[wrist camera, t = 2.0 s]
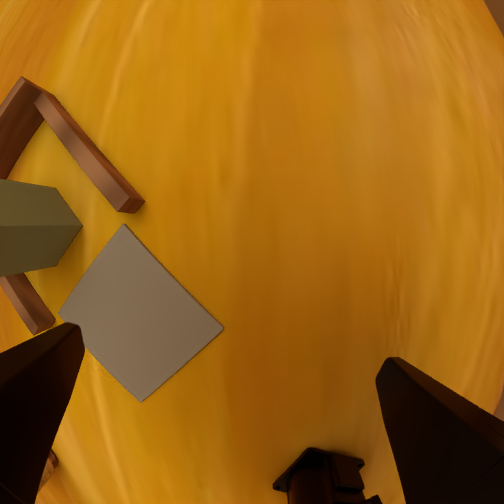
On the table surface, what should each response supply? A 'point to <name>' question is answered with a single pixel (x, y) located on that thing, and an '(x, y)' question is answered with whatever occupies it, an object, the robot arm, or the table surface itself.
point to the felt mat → (137, 316)
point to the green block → (33, 227)
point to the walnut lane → (82, 150)
